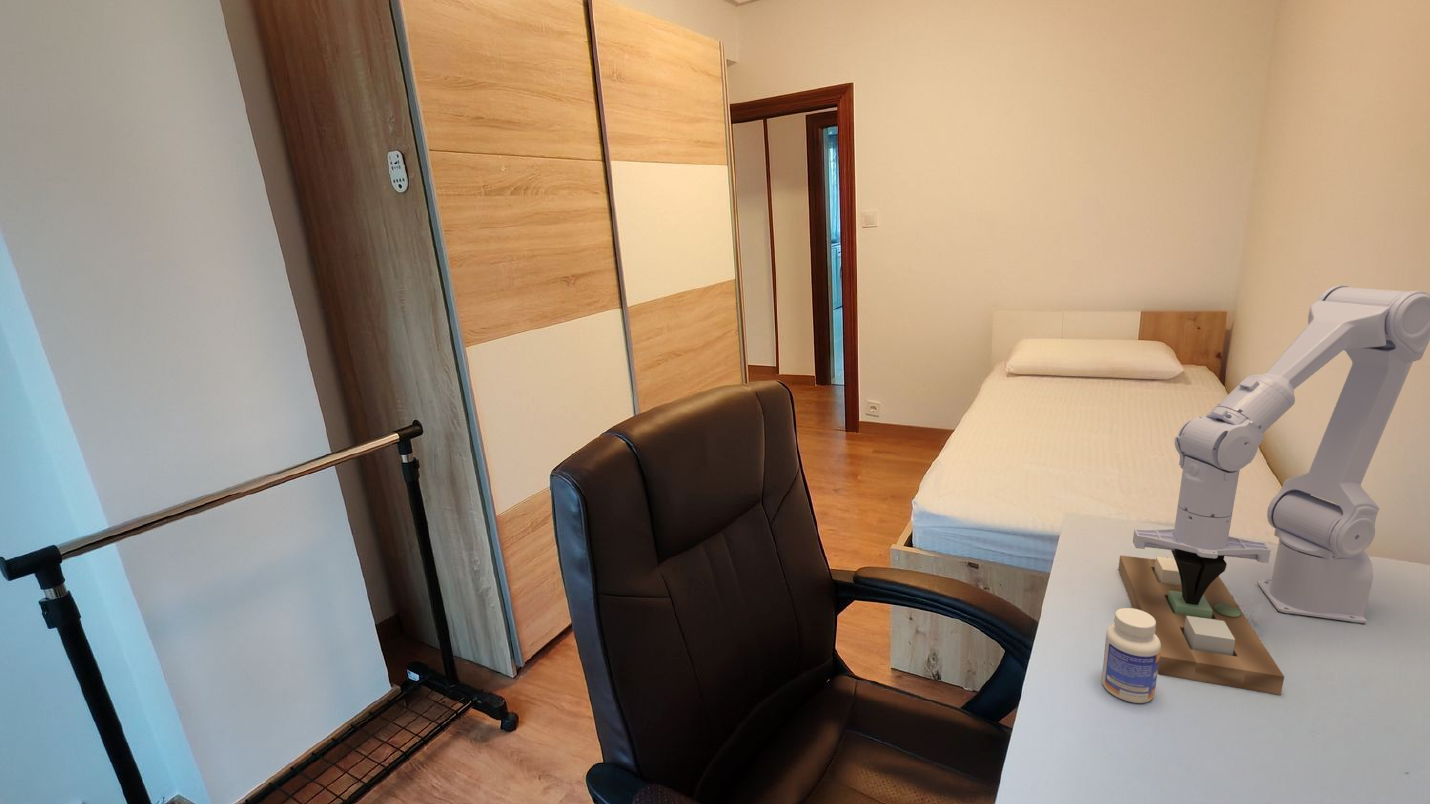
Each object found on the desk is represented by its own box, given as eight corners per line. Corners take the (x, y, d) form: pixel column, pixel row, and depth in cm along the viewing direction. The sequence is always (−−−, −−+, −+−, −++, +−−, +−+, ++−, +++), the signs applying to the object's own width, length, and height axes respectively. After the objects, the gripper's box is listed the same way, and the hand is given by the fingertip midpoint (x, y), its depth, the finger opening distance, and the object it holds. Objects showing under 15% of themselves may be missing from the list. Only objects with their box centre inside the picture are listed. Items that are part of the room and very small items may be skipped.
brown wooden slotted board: (1209, 581, 98) (1212, 564, 97) (1280, 695, 75) (1284, 674, 74) (1118, 569, 102) (1120, 553, 102) (1158, 674, 79) (1161, 654, 78)
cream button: (1185, 578, 96) (1188, 560, 95) (1193, 592, 93) (1196, 573, 92) (1153, 574, 98) (1156, 556, 97) (1160, 587, 94) (1162, 569, 93)
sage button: (1200, 614, 89) (1203, 594, 89) (1209, 630, 86) (1212, 611, 85) (1166, 609, 91) (1168, 590, 90) (1173, 625, 87) (1176, 606, 87)
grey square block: (1220, 641, 82) (1224, 621, 81) (1231, 661, 78) (1235, 639, 78) (1183, 636, 83) (1186, 615, 83) (1191, 654, 80) (1195, 633, 79)
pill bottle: (1162, 707, 74) (1173, 633, 71) (1110, 702, 75) (1119, 629, 72) (1142, 675, 79) (1152, 605, 76) (1093, 671, 80) (1102, 602, 78)
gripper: (1146, 515, 83) (1134, 607, 87) (1287, 528, 78) (1268, 626, 81) (1134, 493, 89) (1123, 580, 93) (1264, 505, 84) (1247, 597, 88)
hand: (1190, 600), depth 88 cm, fingers closed, pressing on sage button
